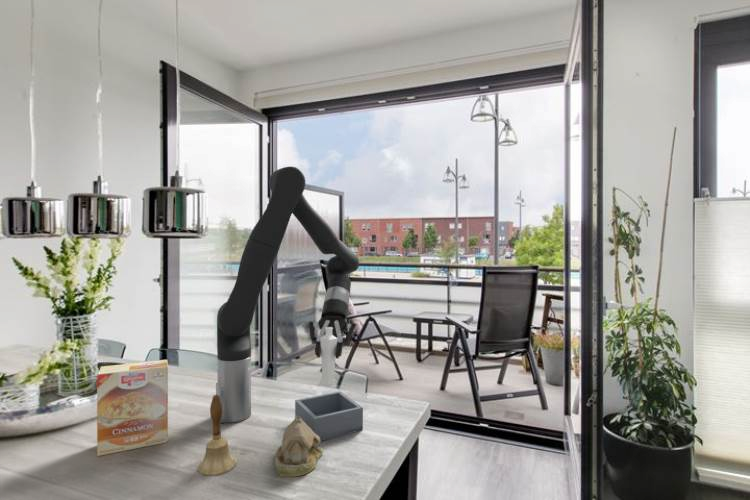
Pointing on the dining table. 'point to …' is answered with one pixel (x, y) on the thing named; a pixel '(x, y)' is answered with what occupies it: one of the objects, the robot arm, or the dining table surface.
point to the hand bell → (216, 446)
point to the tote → (330, 414)
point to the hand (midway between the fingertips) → (327, 356)
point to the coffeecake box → (132, 406)
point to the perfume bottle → (328, 356)
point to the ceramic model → (297, 450)
